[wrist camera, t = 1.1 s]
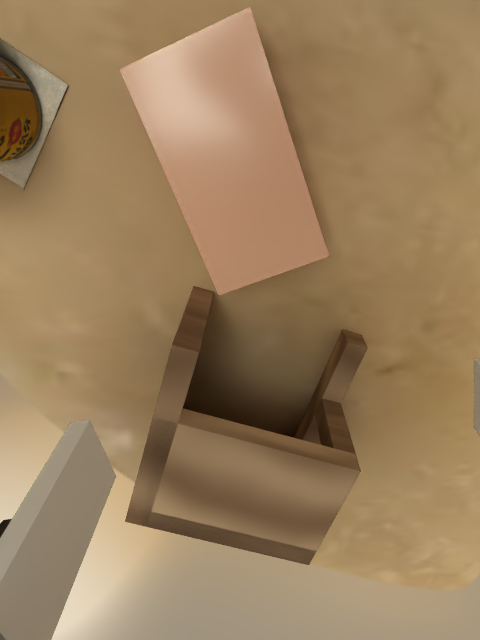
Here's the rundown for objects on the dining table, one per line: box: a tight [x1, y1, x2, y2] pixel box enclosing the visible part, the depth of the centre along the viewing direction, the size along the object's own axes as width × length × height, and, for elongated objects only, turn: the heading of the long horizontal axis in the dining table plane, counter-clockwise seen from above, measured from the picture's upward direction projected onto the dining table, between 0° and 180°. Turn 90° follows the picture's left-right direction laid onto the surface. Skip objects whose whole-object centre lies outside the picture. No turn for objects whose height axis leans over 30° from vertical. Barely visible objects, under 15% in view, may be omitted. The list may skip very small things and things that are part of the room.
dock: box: [125, 286, 367, 565], centre depth 31 cm, size 14×13×9 cm
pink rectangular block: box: [119, 7, 329, 295], centre depth 26 cm, size 13×7×5 cm, turn 21°
